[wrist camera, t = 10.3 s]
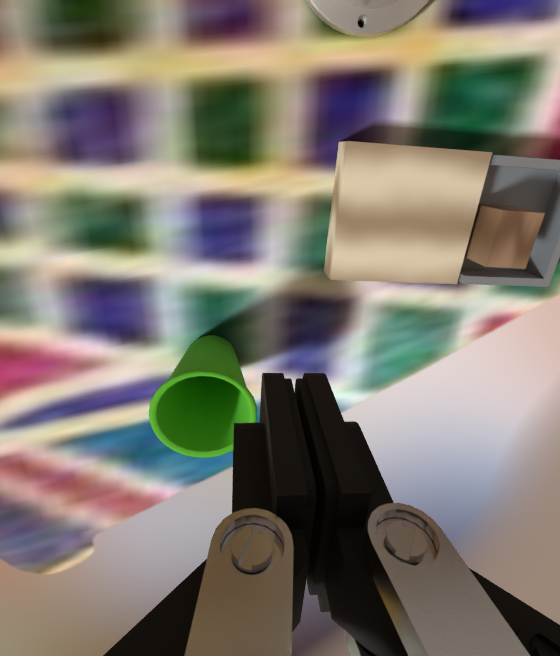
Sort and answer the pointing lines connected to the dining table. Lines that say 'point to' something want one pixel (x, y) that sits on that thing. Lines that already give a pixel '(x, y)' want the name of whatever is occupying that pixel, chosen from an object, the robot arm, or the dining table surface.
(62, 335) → the dining table surface
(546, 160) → the bin
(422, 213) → the board
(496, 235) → the block
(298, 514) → the robot arm
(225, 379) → the cup
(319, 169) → the dining table surface
